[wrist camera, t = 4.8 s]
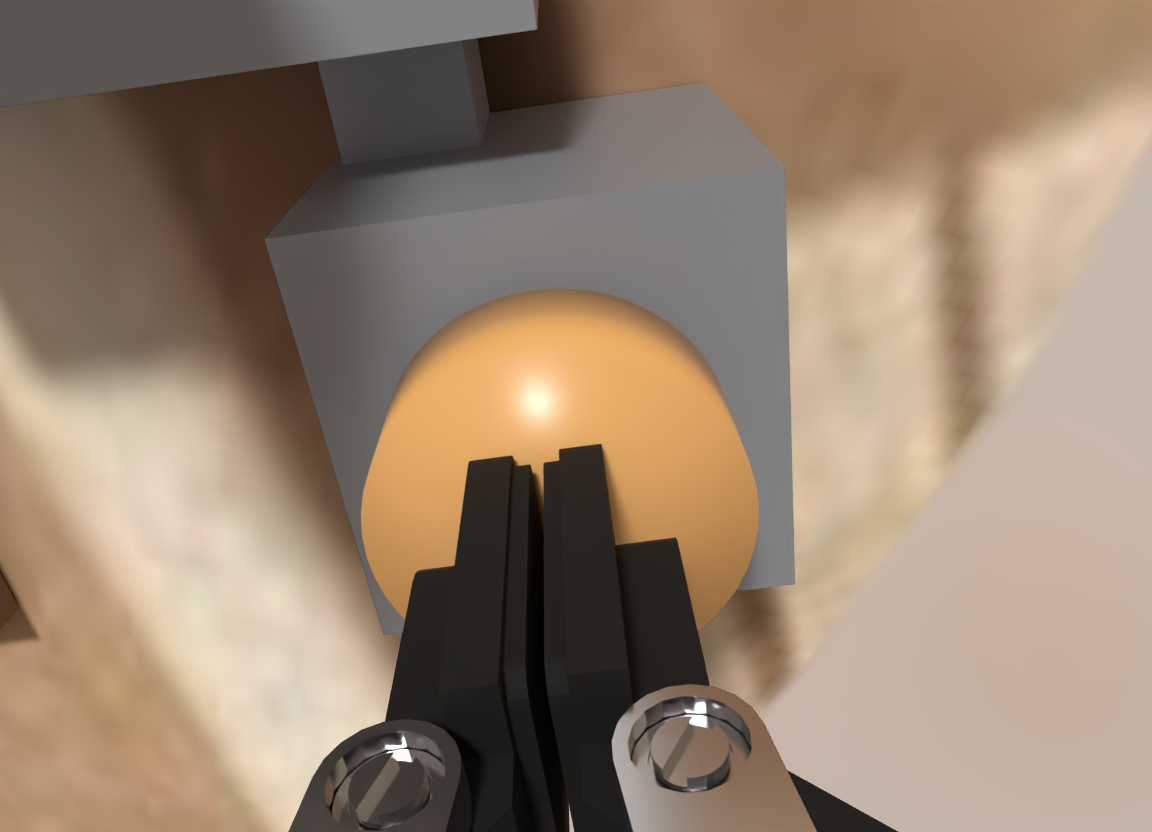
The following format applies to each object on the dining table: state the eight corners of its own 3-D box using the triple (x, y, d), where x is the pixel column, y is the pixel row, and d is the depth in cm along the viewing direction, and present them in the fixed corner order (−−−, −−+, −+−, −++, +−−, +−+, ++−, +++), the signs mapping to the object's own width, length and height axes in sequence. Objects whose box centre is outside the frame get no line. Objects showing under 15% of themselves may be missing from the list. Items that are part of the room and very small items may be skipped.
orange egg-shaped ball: (681, 186, 16) (750, 324, 10) (701, 440, 18) (765, 656, 13) (390, 226, 16) (314, 381, 11) (448, 472, 18) (408, 699, 13)
